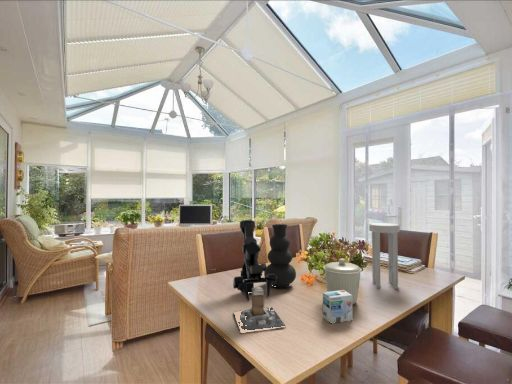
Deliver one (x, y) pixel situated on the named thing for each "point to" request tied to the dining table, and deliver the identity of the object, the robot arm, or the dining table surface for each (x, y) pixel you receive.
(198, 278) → the dining table surface
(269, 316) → the grey square base plate
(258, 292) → the tan tall block
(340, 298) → the light bulb box
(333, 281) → the canister
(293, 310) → the dining table surface
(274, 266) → the vase
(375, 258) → the stool
